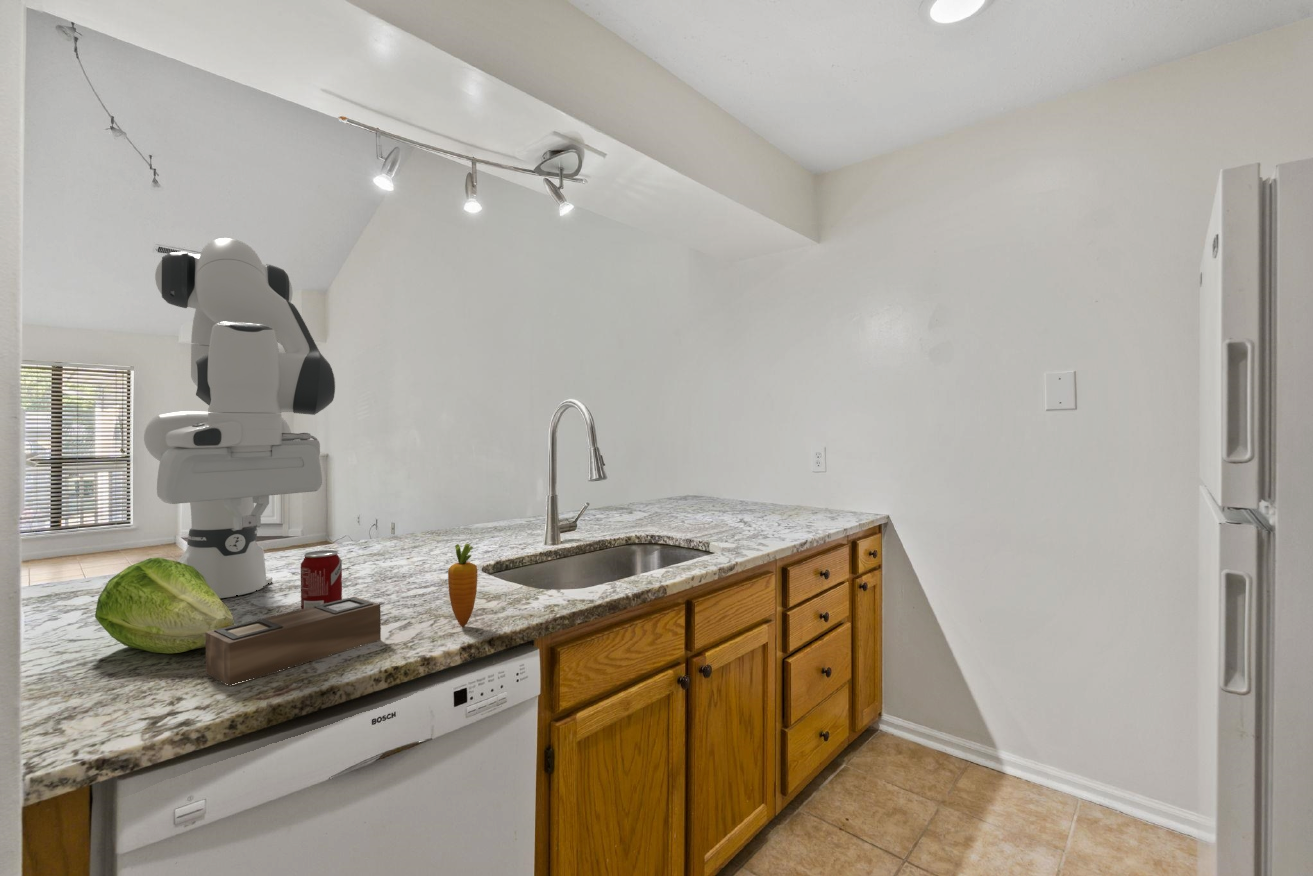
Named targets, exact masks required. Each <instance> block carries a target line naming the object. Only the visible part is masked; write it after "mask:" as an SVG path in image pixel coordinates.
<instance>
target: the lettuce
mask: <svg viewBox="0 0 1313 876" xmlns="http://www.w3.org/2000/svg"><path fill="white" fill-rule="evenodd" d="M177 561H178V560H171V559H166V558H163V557H149V558H146V559H144V560H142V561H138V562H137V563H134V564H132V565H129V566H127V567H126V568H124V569H123V570H121V571H120V572H119V573H117V574H116V575H114V576H113V577H112V578H110V579H109V580H108V581H107V583H106V585H105V586H104V588H103V590H102V591H101V593H100V594H99V596H98V598H97V602H96V603H97V604H96V608H95V614H94V617H95V619H96V621H97V622H98V623H99V624H100V625H101V626H102V628H103V629H104V630H105V631H106V633H108V634H109V636H110V637H111V638H113V640H115V641H118V642H119V643H121V645H124V646H126V647H129V648H132V649H136V650H138V649H139V650H142V651H147V652H151V653H156V654H177V653H179V654H180V653H184V652H188V651H191V650H197V649H202V648H206V636H205V632H208V631H212V630H216V629H221V628H225V627H229V626H233V625H235V621H234V618H233V615H232V613H231V611H230V609H229V607H228V606H227V605H226V604H225V603H224V602H223V601H222V600H221V598H219V597H218V596H217V594H216V593H215V592H214V591H213V590H212V589H211V588H210V587H209V585H208V584H207V583H206V581H205V579H204V577H203V576H202V575H201V574H200V573H199V572H198V571H197V570H196V569H195V568H194V567H192V566H189V565H186V564H183V563H180V562H177Z"/></svg>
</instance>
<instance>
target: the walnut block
mask: <svg viewBox="0 0 1313 876" xmlns="http://www.w3.org/2000/svg"><path fill="white" fill-rule="evenodd" d="M348 601H350V602H353V603H357V604H360V605H358V606H354V607H350V608H346V609H342V610H338V611H337V610H333V609H330V608H327V607H328V606H332V605H336V604H340V603H344V602H348ZM381 621H382V620H381V604H380V603H377V602H375V601H371V600H368V599H364V598H360V597H356V596H351V597H350V596H349V597H347V598H342V600H338V601H334V602H330V603H325V604H321V605H317V606H313V607H309V608H304V609H301V608H300V609H297V610H292V611H288V612H283V613H280V614H276V615H272V616H267V617H263V618H260V619H255V620H250V621H247V622H242V623H238V624H234V625H233V626H229V627H225V628H221V629H216V630H212V631H208V632H205V636H206V647H205V674H206V675H209V676H210V677H211V678H213V679H215V680H217V679H218V680H217V681H219V682H221V681H222V682H223V684H224V683H226V684H228V685H232V684H235V683H238V682H242V681H246V680H249V679H253V678H256V679H258V677H259V678H261V677H260V676H263V677H265V675H266V676H269V675H272V674H275V673H274V672H276V673H278V672H277V671H279V670H282V671H284V670H283V669H285V670H288V669H289V668H288V667H292V668H294V667H293V666H295V665H298V666H301V665H303V664H302V663H305V664H307V662H308V663H310V662H309V661H311V662H313V660H314V661H317V660H320V659H319V658H321V659H323V658H327V657H329V655H330V656H332V655H331V654H333V655H336V654H335V653H337V654H339V652H340V653H342V652H341V651H343V652H346V651H348V650H347V649H350V650H351V649H352V648H353V649H355V648H354V647H356V648H359V647H361V646H360V645H362V646H365V644H366V645H368V643H369V644H372V643H376V642H378V641H377V640H379V641H381V639H382V638H381V637H382V636H381V635H382V634H381V629H382V628H381V627H382V626H381ZM254 624H260V625H263V626H265V627H268V628H267V629H263V630H259V631H255V632H251V633H247V634H243V635H239V636H237V635H235V634H233V633H230V632H228V631H229V630H233V629H237V628H242V627H246V626H250V625H254ZM371 642H372V643H371ZM358 646H359V647H358ZM345 650H346V651H345ZM326 656H327V657H326ZM300 664H301V665H300ZM295 667H296V666H295ZM287 668H288V669H287ZM279 672H280V671H279ZM268 674H269V675H268ZM253 680H254V679H253ZM222 682H221V683H222ZM226 684H225V685H226ZM228 685H227V686H228Z"/></svg>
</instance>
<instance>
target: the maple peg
mask: <svg viewBox="0 0 1313 876" xmlns="http://www.w3.org/2000/svg"><path fill="white" fill-rule="evenodd" d="M267 628H268V627H265V626H263V625H260V624H254V625H250V626H246V627H242V628H237V629H233V630H229V631H228V632H230V633H233V634H235V635H237V636H239V635H243V634H247V633H251V632H255V631H259V630H263V629H267Z"/></svg>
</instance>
